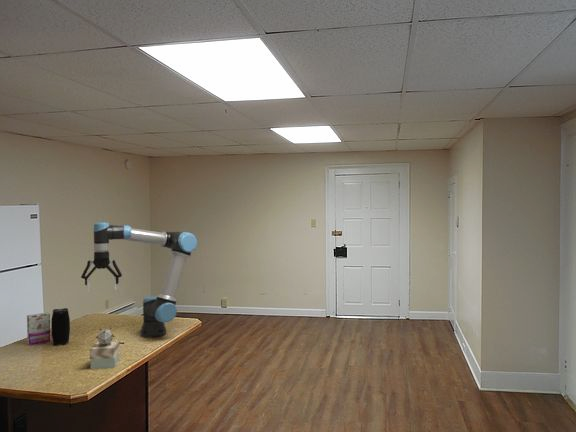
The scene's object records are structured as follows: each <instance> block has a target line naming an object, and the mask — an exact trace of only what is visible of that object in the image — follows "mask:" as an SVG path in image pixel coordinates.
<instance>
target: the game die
mask: <svg viewBox="0 0 576 432" xmlns="http://www.w3.org/2000/svg"><path fill="white" fill-rule="evenodd" d="M111 329H112V327H110V328H107V329H101V328H99V332H98V334H97V336H95V338H96V339H97V342H99V343H100V345H103V344H110V343H111V342H113V339H114V338H115V337H116V335H114V334H113V332H112V330H111ZM100 345H99V346H100ZM110 345H111V344H110Z"/></svg>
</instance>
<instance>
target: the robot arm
mask: <svg viewBox="0 0 576 432" xmlns="http://www.w3.org/2000/svg"><path fill="white" fill-rule="evenodd" d="M110 240H111V241H112V240H121V241H131V242H137V243H144V244H145V243H146V244H151V245H152V244H153V245H159V246H160V247H162V248H167V249H170V250H171V251H170V252H171V254H172V257H171V258H170V259H171V260H170V263H169V265H168V269H167V272H166V276H165V279H164V283H163V285H162V289H161V292H160V294H157V295H153V296H147V297H144V298H143V300H142V310H143V311H142V318H143V323H142V326H141V329H140V332H139V333H140V336H141V337H143V338H158V336H159V337H163V336H165V335H166V334H167V328H166V325H165V323H170V322H171V321H173V320H174V319H175V317H176V316H177V314H178V313H177V311H178V310H177V307H176V305H177V299H176V295H177V292H178V288H179V285H180V281H181V279H182V275H183V272H184V269H185V266H186V262H187V259H189V258H190V257H191V255H192V253H193V251H195V250H196V248H197V247H198V240H197V238H196V236H195V235H194V234H193V233H191V232H187V231H161V232H159V231H154V230H146V229H142V228H141V229H140V228H133V227H131V226H130V225H118V224H117V225H115V224H114V225H113V224H109V222H104V221H103V222H94V224H93V251H94V252H93V260H91V259H89V260H87V263H86V267H85V268H84V270H83V272H82V274H81V276H80V278H81V279H84V285H85V286H86V289H87V290H86V291H87V293H89V292H90V291H91V290H90V289H91V288H90V285H91V284H90V283H91V282H90V280H91V279H90V277H91V275H92V274H93V273H94V272H95V271H96V270H97V269H98V270H101V269H103V270H104V269H107V270H108V271H109V273H111V274H112V275H113V276H114V278H113V285H114V286H113V287H114V289H113V291H117V288H118V287H117V285H119V282H120V281H119V278H122V277H123V274H122V272H121V270H120V268H119V266H118V265H117V263H116V259H113V260H110ZM92 264H93V265H94V267H92V268H91V270H90V271H89V272H88V270H89V269H90V267H91V265H92ZM110 264H111V265H112V267H114V269H115V270H114V269H113V268H112V267H111V266H110ZM115 271H116V272H115ZM87 273H88V274H87ZM86 274H87V275H86ZM162 335H163V336H162Z"/></svg>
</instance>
